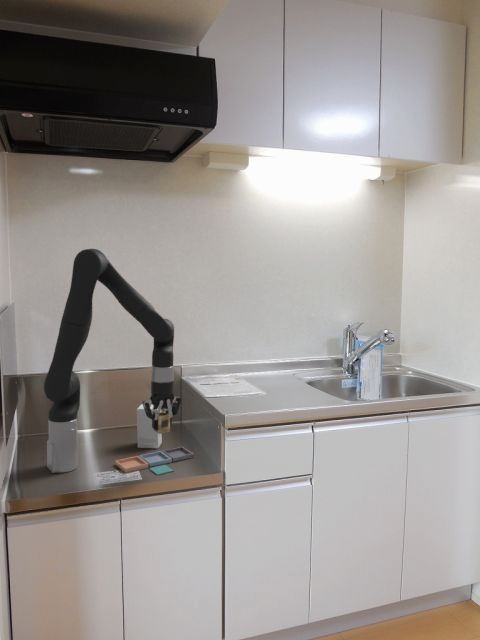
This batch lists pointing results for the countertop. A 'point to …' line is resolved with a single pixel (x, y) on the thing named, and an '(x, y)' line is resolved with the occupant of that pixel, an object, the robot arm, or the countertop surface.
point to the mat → (161, 469)
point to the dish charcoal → (178, 454)
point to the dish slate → (156, 458)
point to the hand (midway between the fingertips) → (161, 428)
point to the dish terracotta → (131, 464)
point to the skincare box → (146, 430)
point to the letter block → (163, 423)
